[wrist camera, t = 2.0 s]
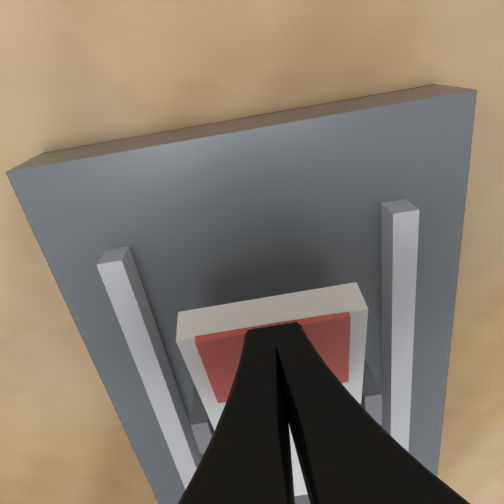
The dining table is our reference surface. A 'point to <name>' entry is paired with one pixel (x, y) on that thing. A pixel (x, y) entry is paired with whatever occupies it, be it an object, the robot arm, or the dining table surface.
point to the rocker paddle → (269, 314)
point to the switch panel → (262, 251)
